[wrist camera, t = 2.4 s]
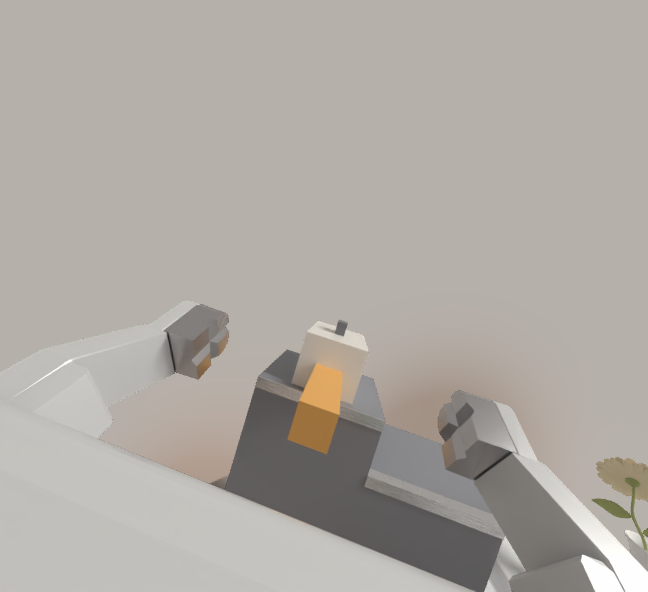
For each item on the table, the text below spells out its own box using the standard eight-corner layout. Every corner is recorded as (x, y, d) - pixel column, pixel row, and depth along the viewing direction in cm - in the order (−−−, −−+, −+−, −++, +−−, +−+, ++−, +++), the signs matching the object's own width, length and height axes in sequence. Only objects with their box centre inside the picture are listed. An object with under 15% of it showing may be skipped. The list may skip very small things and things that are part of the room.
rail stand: (443, 709, 24) (527, 471, 23) (193, 594, 27) (258, 376, 26) (411, 570, 36) (466, 409, 35) (241, 501, 39) (287, 349, 38)
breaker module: (353, 464, 17) (387, 362, 16) (261, 429, 17) (291, 330, 17) (351, 373, 36) (366, 324, 35) (307, 358, 36) (321, 310, 36)
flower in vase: (683, 659, 35) (745, 504, 34) (685, 716, 29) (761, 529, 28) (563, 560, 46) (608, 440, 45) (546, 586, 40) (597, 448, 39)
